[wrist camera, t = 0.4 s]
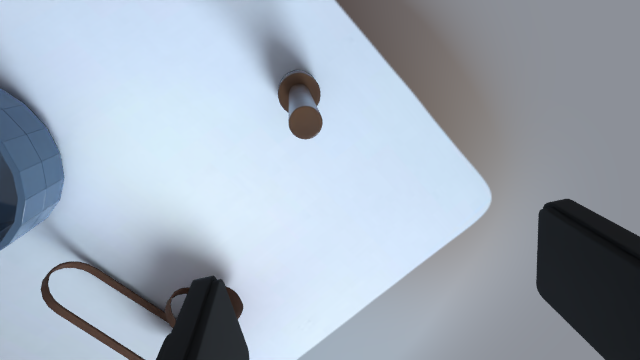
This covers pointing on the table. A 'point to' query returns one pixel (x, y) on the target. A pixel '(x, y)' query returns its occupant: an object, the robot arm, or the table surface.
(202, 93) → the table surface
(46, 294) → the brown barrel bag
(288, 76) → the stirring stick
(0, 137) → the bowl
